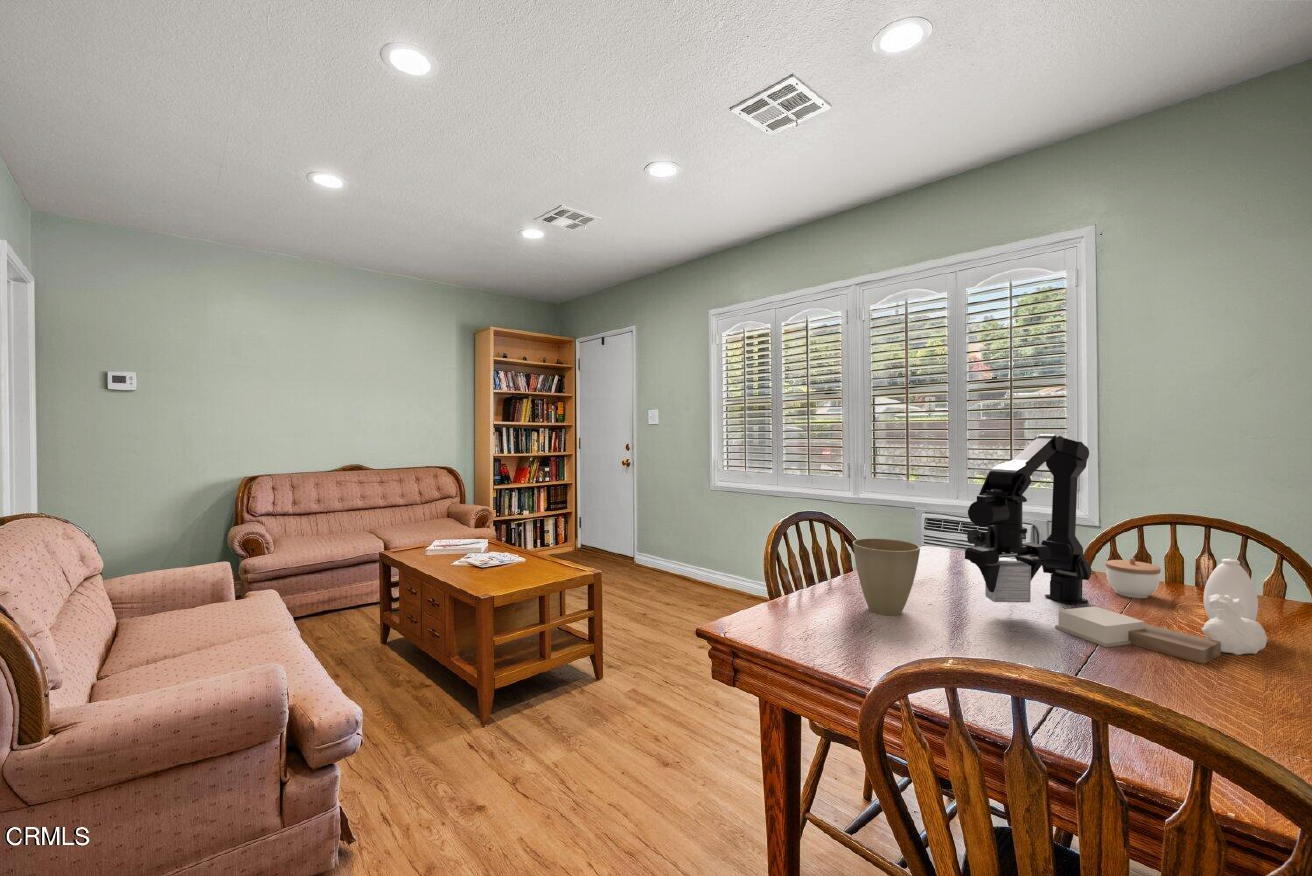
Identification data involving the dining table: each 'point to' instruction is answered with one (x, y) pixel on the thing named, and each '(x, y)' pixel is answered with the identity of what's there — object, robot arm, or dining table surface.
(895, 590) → the plant pot
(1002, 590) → the medicine box
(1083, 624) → the block
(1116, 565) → the lidded jar
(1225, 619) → the duck figurine
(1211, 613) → the sauce bottle
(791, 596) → the dining table surface
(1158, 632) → the grey-brown long grooved block
